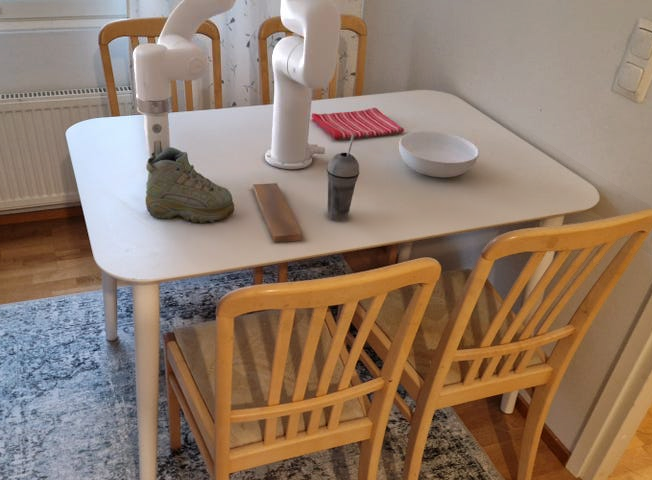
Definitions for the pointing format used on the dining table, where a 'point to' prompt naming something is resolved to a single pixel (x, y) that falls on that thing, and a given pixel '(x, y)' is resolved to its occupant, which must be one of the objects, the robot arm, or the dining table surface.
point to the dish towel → (356, 124)
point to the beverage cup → (341, 184)
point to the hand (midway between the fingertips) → (158, 178)
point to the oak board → (276, 213)
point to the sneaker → (183, 190)
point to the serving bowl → (437, 153)
